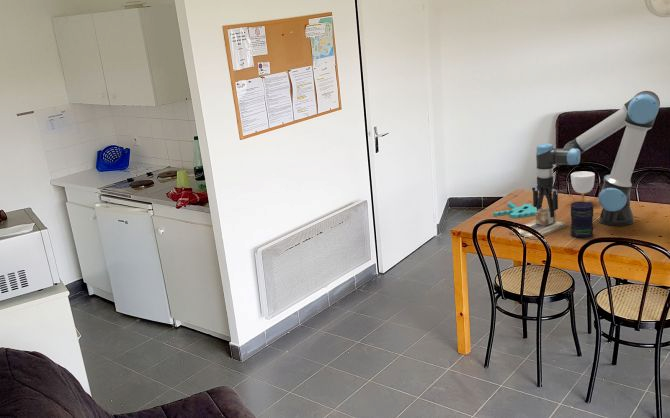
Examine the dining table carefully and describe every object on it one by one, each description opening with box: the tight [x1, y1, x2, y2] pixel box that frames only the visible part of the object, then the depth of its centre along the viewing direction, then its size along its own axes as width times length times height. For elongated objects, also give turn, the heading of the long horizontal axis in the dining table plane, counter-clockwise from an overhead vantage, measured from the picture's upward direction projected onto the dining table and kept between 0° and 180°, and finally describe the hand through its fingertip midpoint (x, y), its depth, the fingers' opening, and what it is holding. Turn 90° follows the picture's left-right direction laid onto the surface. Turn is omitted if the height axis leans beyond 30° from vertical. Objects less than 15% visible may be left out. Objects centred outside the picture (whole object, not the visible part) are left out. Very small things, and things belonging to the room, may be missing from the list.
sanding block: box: [535, 206, 557, 226], centre depth 321 cm, size 5×9×6 cm, turn 128°
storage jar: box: [570, 201, 594, 240], centre depth 304 cm, size 10×10×15 cm
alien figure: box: [492, 202, 537, 219], centre depth 348 cm, size 20×2×20 cm
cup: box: [570, 170, 596, 202], centre depth 345 cm, size 12×12×17 cm
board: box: [508, 219, 567, 239], centre depth 319 cm, size 15×24×2 cm, turn 128°
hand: (545, 222), depth 322 cm, fingers closed on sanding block, 5 cm apart
